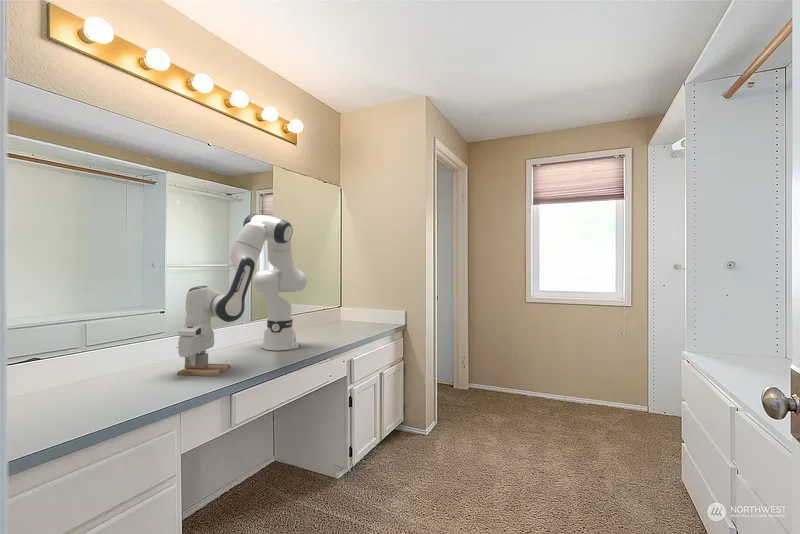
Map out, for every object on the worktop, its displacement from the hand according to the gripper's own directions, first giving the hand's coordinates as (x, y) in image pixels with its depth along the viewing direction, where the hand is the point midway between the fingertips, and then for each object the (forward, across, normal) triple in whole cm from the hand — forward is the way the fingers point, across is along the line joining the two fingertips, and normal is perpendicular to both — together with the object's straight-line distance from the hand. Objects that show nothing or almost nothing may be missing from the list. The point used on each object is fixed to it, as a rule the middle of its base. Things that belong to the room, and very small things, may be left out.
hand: (197, 363), depth 157 cm
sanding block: (+1, 0, 0) cm, 1 cm away
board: (+3, 0, +3) cm, 4 cm away
